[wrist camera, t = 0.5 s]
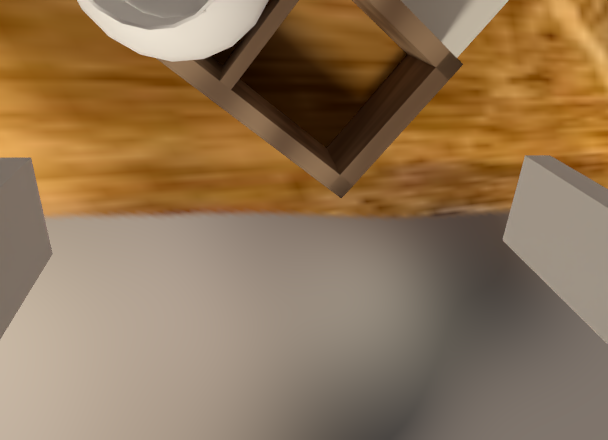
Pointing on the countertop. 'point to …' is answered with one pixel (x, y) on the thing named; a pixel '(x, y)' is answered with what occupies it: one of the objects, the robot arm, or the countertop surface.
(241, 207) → the countertop surface
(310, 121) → the countertop surface
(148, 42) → the bottle
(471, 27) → the coaster
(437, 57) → the carrier
